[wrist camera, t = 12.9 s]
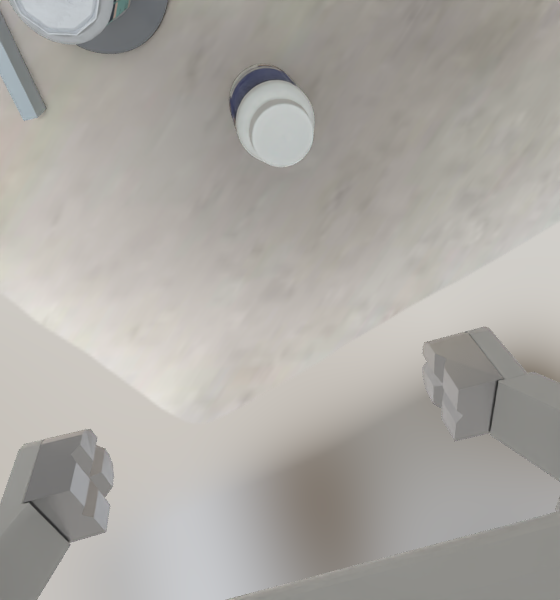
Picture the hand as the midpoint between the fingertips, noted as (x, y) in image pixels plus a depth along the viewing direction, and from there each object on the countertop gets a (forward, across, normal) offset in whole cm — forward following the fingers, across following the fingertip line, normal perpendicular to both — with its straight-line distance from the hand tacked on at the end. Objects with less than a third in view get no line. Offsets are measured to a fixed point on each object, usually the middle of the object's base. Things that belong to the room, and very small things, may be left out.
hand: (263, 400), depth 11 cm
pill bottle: (+31, -4, +1) cm, 32 cm away
